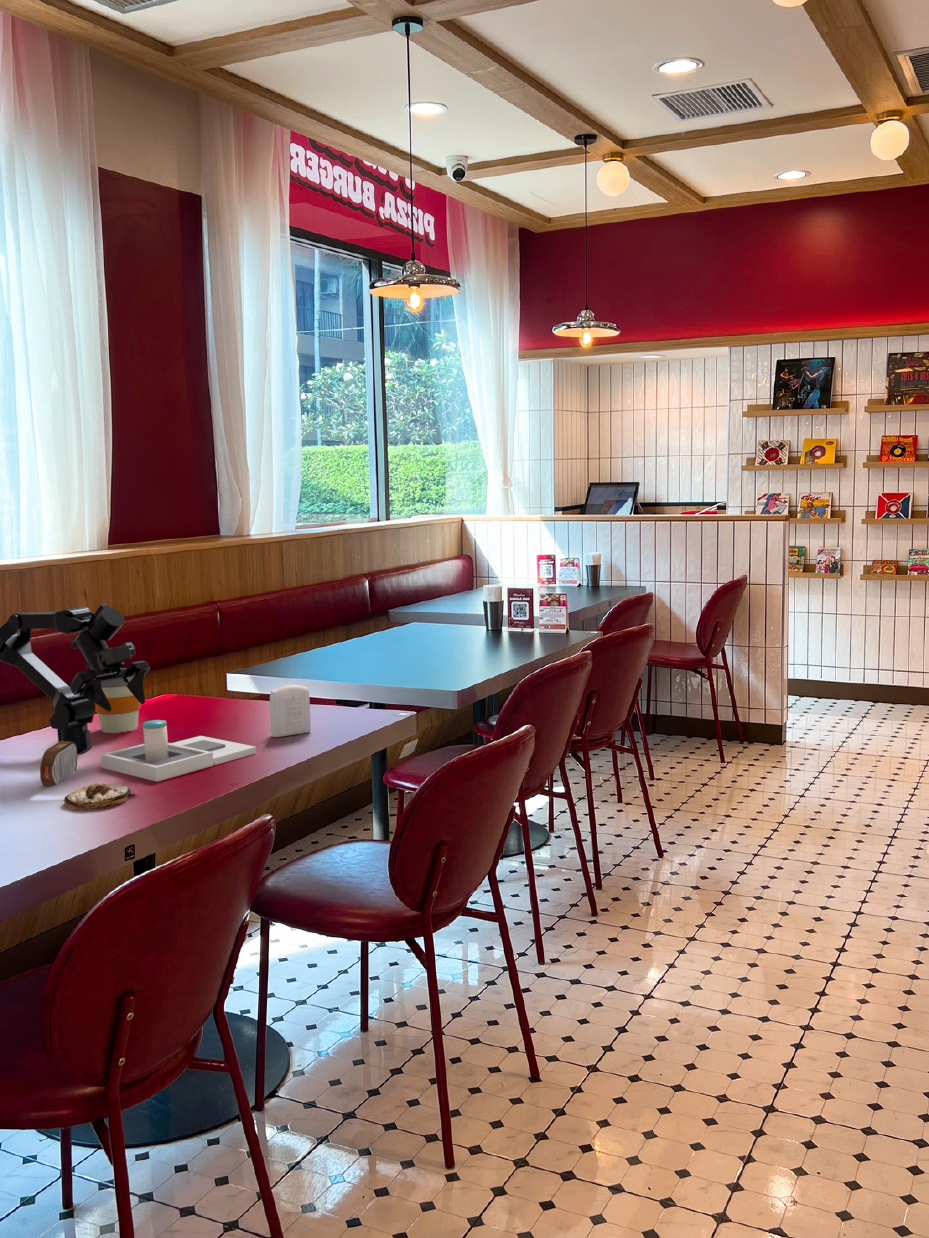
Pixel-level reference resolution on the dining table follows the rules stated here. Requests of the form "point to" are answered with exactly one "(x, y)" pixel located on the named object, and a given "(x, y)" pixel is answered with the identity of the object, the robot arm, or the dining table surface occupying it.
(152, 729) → the ball
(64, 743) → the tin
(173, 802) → the dining table surface
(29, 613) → the robot arm
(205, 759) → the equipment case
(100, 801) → the brown topped flatbread
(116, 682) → the reusable coffee cup
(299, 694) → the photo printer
